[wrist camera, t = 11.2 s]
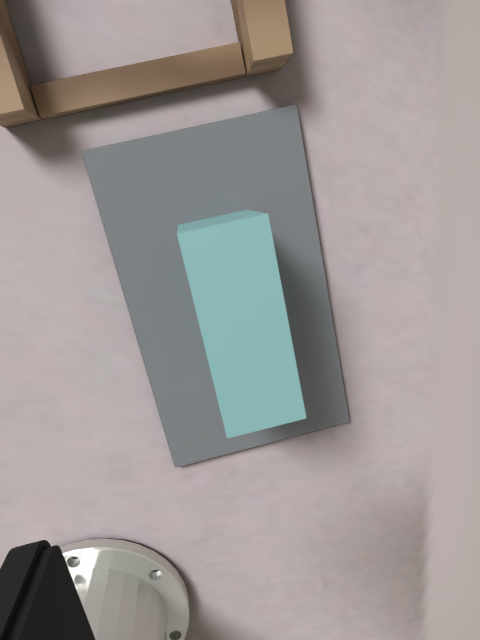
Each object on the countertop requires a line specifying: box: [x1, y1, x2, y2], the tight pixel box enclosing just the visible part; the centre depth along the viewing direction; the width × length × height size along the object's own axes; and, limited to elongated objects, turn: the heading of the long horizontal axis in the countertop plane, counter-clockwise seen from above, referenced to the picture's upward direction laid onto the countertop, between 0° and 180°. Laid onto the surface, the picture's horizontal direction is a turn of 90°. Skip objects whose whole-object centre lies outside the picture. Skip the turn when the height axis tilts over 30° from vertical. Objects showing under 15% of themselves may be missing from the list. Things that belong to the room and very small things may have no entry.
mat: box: [81, 104, 350, 468], centre depth 28 cm, size 20×12×1 cm, turn 12°
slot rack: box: [0, 0, 293, 127], centre depth 22 cm, size 8×15×3 cm, turn 102°
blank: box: [177, 210, 306, 439], centre depth 24 cm, size 4×10×7 cm, turn 12°
